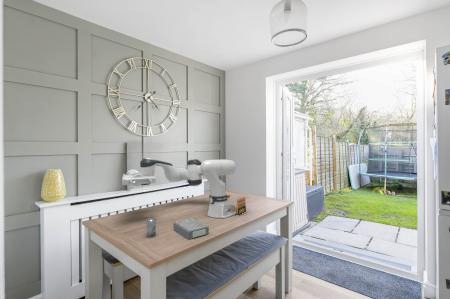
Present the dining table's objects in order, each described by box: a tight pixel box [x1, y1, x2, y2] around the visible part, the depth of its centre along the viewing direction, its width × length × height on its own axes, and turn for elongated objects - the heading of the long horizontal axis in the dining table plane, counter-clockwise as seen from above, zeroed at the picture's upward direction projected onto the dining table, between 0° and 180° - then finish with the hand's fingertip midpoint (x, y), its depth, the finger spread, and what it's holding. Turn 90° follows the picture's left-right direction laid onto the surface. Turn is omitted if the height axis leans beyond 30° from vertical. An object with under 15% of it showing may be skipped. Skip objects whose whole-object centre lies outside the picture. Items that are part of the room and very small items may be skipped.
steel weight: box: [145, 217, 157, 239], centre depth 127 cm, size 5×5×9 cm
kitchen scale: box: [172, 217, 210, 240], centre depth 133 cm, size 13×18×5 cm
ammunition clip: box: [235, 196, 247, 216], centre depth 168 cm, size 11×2×12 cm, turn 143°
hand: (142, 182), depth 141 cm, fingers open, 8 cm apart
